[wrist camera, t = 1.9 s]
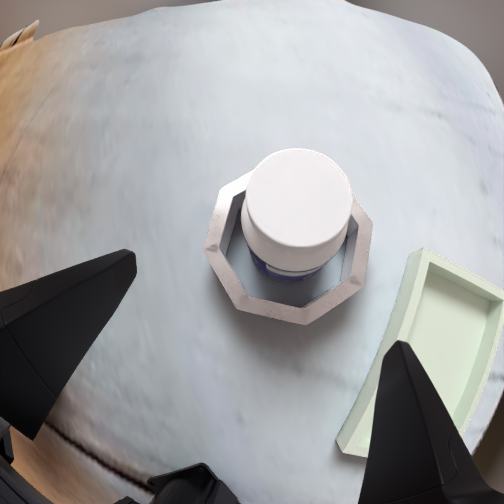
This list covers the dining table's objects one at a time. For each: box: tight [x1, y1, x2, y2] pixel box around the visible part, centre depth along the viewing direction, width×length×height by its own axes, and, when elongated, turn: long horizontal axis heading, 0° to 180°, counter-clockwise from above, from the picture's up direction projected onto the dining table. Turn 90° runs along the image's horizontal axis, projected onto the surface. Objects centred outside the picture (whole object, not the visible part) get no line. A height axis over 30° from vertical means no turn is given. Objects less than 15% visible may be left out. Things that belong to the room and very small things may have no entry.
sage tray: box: [336, 247, 504, 458], centre depth 17 cm, size 16×11×2 cm
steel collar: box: [203, 171, 373, 326], centre depth 20 cm, size 11×11×3 cm
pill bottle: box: [241, 148, 353, 283], centre depth 16 cm, size 6×6×10 cm
